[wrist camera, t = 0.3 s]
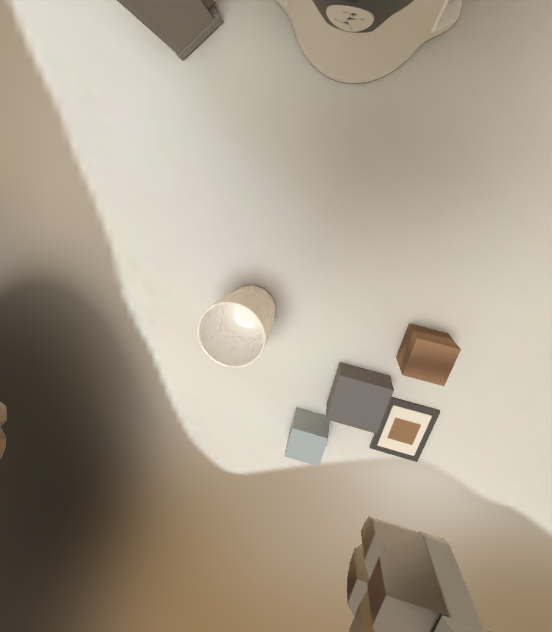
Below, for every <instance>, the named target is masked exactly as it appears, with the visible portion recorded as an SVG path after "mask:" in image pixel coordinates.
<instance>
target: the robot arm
mask: <svg viewBox="0 0 552 632" xmlns="http://www.w3.org/2000/svg"><path fill="white" fill-rule="evenodd" d="M276 1H277V3H278V4H279V5H280V6H281V8H282V9H283V10H284V11H285V12H286V13H287V15H288V16H289V18H290V20H291V23H292V25H293V29H294V32H295V35H296V38H297V41H298V43H299V46H300V48H301V50H302V52H303V53H304V55H305V56H306V58H307V59H308V60H309V62H310V63H311V64H312V65H313V66H314V67H315V68H316V69H317V70H318V71H320V72H321V73H323V74H324V75H326V76H328V77H329V78H332V79H334V80H337V81H341V82H346V83H363V82H369V81H372V80H376V79H378V78H381V77H383V76H385V75H387V74H389V73H390V72H392V71H394V70H395V69H396V68H398V67H399V66H400V65H402V64H403V63H404V62H405V61H406V60H407V59H408V58H409V57H410V56H411V55H412V54H413V53H414V52H415V51H416V50H417V49H418V48H419V47H420V46H421V45H422V44H423V43H424V42H425V41H427V40H429V39H431V38H433V37H435V36H437V35H439V34H441V33H443V32H445V31H446V30H448V29H449V28H451V27H452V26H453V25H454V24H455V23H456V21H457V19H458V17H459V15H460V12H461V9H462V3H463V0H452V1H449V0H276ZM6 419H7V418H6V406H5V405H4V404H2V403H1V402H0V426H1V425H2V424H3V423H4V422H5V421H6ZM5 442H6V437H5V435H4V433H3V431H2V429H1V428H0V459H1V457H2V454H3V451H4V449H5ZM361 536H362V545H360V546H358V547H357V548H355V549H354V552H353V555H352V558H351V561H350V566H349V571H348V576H347V603H348V606H349V607H350V609H351V611H352V613H353V614H354V619H353V622H352V624H351V627H350V629H349V632H490V631H487V630H485V629H484V627H483V625H482V622H481V620H480V617H479V615H478V612H477V610H476V608H475V605H474V603H473V600H472V598H471V596H470V593H469V591H468V588H467V586H466V583H465V581H464V579H463V576H462V574H461V571H460V569H459V566H458V564H457V562H456V559H455V557H454V554H453V552H452V550H451V547H450V545H449V543H448V542H447V541H446V540H445V539H444V538H441V537H437V536H433V535H430V534H427V533H423V532H420V531H418V532H417V531H414V530H411V529H408V528H405V527H401V526H398V525H395V524H391V523H388V522H385V521H382V520H378V519H374V518H371V517H368V518H367V520H366V521H365V523H364V525H363V528H362V530H361Z"/></svg>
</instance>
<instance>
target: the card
mask: <svg viewBox="0 0 552 632" xmlns="http://www.w3.org/2000/svg"><path fill="white" fill-rule="evenodd" d="M439 414H440V410H436V409H433V408H429V407H426V406H422V405H418V404H415V403H411V402H408V401H404V400H400V399H397V398H393V397H391V399H390V401H389V404H388V406H387V409H386V411H385V414H384V416H383V419H382V421H381V424H380V427H379V429H378V432H377V434H376V433H375V434H374V437H373V439H372V442H371V444H370V448H371V449H375V450H378V451H382V452H385V453H388V454H392V455H395V456H399V457H402V458H406V459H409V460H412V461H416V462H417V461H418V459H419V457H420V455H421V452H422V450H423V448H424V446H425V444H426V442H427V439H428V437H429V435H430V433H431V431H432V429H433V427H434V424H435V422H436V420H437V418H438V416H439Z"/></svg>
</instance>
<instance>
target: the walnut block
mask: <svg viewBox="0 0 552 632" xmlns="http://www.w3.org/2000/svg"><path fill="white" fill-rule="evenodd" d="M460 350H461V349H460V348H459V347H458V345H457V344H456V343H455V342H454V340H453V339H452V338H451V337H450V335H449V334H448V333H444V332H440V331H436V330H432V329H428V328H424V327H420V326H417V325H413V324H409V325H408V327H407V330H406V333H405V335H404V338H403V341H402V343H401V346H400V348H399V351H398V354H397V356H396V358H397V361H398V364H399V367H400V369H401V372H402V375H405V376H408V377H412V378H416V379H420V380H423V381H427V382H431V383H434V384H438V385H442V386H444V385H445V383H446V381H447V379H448V376H449V374H450V372H451V370H452V368H453V365H454V363H455V361H456V359H457V357H458V354H459V352H460Z"/></svg>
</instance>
